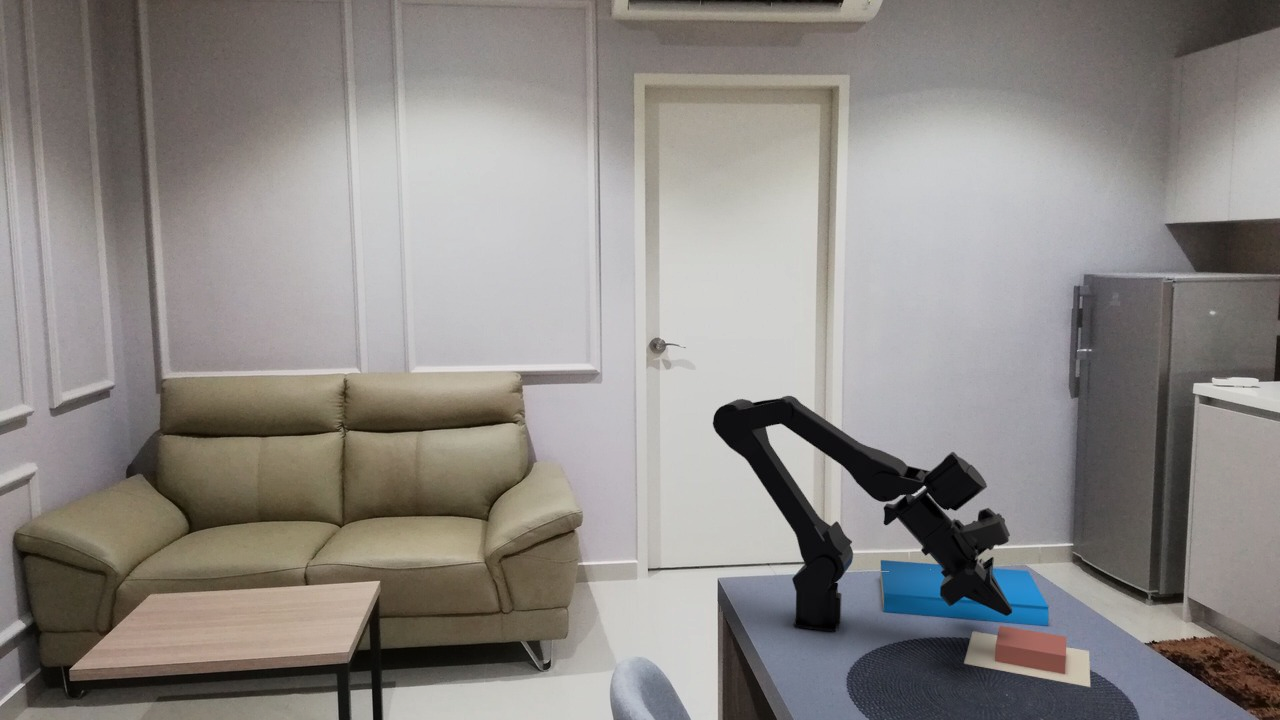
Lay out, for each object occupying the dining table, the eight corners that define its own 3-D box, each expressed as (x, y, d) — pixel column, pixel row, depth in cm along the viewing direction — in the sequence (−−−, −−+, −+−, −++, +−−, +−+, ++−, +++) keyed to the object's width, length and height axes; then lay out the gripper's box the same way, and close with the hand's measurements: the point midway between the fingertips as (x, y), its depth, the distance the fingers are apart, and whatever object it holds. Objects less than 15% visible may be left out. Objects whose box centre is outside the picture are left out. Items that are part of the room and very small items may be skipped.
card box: (995, 643, 127) (1065, 656, 123) (999, 625, 133) (1066, 636, 129) (995, 661, 127) (1064, 674, 123) (998, 642, 133) (1065, 653, 129)
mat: (963, 666, 126) (963, 663, 126) (972, 634, 137) (972, 631, 137) (1090, 690, 119) (1090, 686, 119) (1088, 654, 130) (1089, 651, 130)
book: (879, 559, 160) (1028, 568, 155) (878, 583, 161) (1027, 592, 156) (883, 594, 144) (1050, 605, 138) (883, 620, 144) (1049, 632, 139)
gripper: (968, 512, 121) (1054, 605, 117) (981, 481, 137) (1056, 561, 134) (906, 560, 125) (987, 650, 121) (926, 524, 142) (998, 602, 138)
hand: (1009, 613), depth 129 cm, fingers closed
